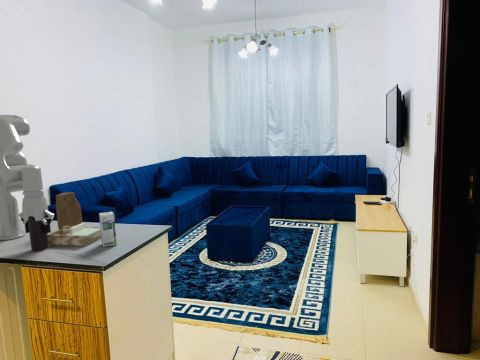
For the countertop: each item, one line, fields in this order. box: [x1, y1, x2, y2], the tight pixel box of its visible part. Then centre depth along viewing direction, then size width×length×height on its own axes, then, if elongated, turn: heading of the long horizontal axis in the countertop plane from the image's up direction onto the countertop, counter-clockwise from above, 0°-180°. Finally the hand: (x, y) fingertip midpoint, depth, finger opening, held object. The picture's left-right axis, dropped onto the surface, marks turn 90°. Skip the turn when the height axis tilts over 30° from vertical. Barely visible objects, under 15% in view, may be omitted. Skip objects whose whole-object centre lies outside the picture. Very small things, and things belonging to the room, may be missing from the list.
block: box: [55, 191, 83, 230], centre depth 191 cm, size 11×8×20 cm
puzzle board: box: [47, 226, 101, 247], centre depth 175 cm, size 22×15×5 cm
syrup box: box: [98, 211, 118, 248], centre depth 166 cm, size 6×6×14 cm
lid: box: [66, 222, 101, 237], centre depth 173 cm, size 11×12×3 cm
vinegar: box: [28, 216, 50, 252], centre depth 163 cm, size 7×7×20 cm
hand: (38, 232), depth 163 cm, fingers open, 9 cm apart
